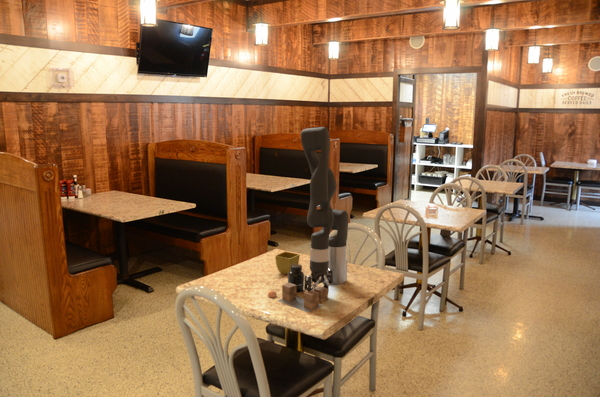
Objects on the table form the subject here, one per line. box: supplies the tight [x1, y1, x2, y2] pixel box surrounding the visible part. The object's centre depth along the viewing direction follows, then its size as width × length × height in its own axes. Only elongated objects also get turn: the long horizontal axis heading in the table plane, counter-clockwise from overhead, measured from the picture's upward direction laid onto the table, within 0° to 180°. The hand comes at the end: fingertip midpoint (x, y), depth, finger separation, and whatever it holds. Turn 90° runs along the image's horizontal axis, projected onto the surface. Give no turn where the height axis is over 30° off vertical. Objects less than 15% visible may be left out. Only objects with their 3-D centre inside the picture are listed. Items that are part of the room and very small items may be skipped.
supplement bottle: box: [287, 263, 305, 294], centre depth 206 cm, size 7×7×12 cm
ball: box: [267, 289, 277, 299], centre depth 200 cm, size 4×4×4 cm
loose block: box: [314, 285, 329, 303], centre depth 196 cm, size 4×4×6 cm
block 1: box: [281, 282, 297, 302], centre depth 196 cm, size 4×4×6 cm
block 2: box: [303, 290, 320, 311], centre depth 188 cm, size 4×4×6 cm
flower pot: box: [274, 251, 301, 276], centre depth 232 cm, size 9×9×9 cm
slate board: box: [277, 295, 324, 313], centre depth 193 cm, size 9×17×1 cm, turn 46°
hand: (318, 297), depth 196 cm, fingers open, 8 cm apart
